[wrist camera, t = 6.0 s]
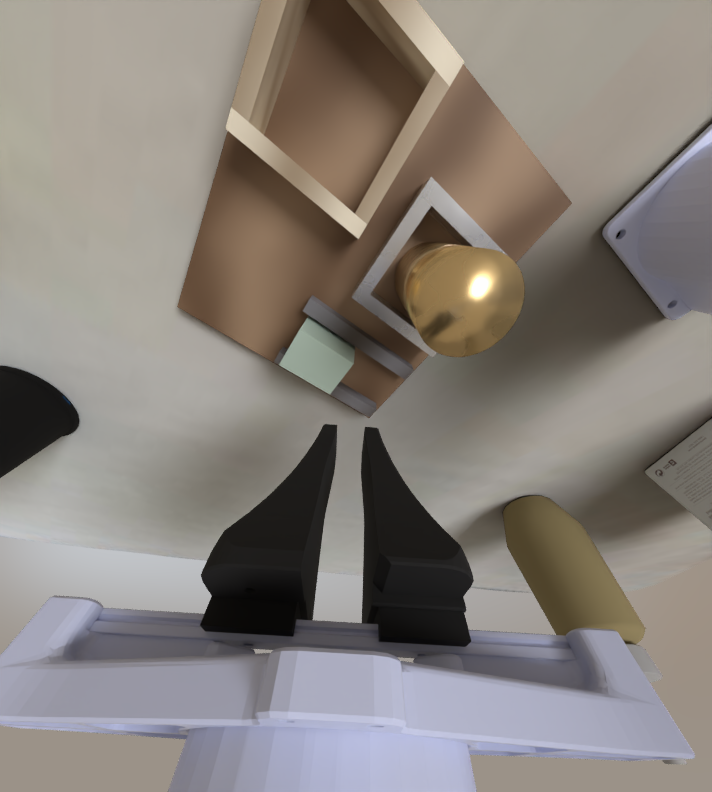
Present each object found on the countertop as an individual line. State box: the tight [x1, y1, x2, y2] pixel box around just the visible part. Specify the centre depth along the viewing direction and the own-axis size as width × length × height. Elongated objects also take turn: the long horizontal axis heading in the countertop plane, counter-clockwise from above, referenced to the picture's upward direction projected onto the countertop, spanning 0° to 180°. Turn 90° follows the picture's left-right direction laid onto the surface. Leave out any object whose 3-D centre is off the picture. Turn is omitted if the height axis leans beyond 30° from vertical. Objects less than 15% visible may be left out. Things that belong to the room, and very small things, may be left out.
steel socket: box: [352, 177, 508, 357], centre depth 15 cm, size 7×7×2 cm
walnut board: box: [177, 0, 572, 418], centre depth 16 cm, size 17×19×2 cm
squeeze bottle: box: [503, 496, 687, 764], centre depth 24 cm, size 8×8×18 cm
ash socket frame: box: [225, 0, 464, 239], centre depth 12 cm, size 7×7×2 cm
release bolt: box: [279, 316, 355, 394], centre depth 18 cm, size 4×3×3 cm
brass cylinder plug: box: [395, 242, 525, 357], centre depth 13 cm, size 4×4×8 cm
